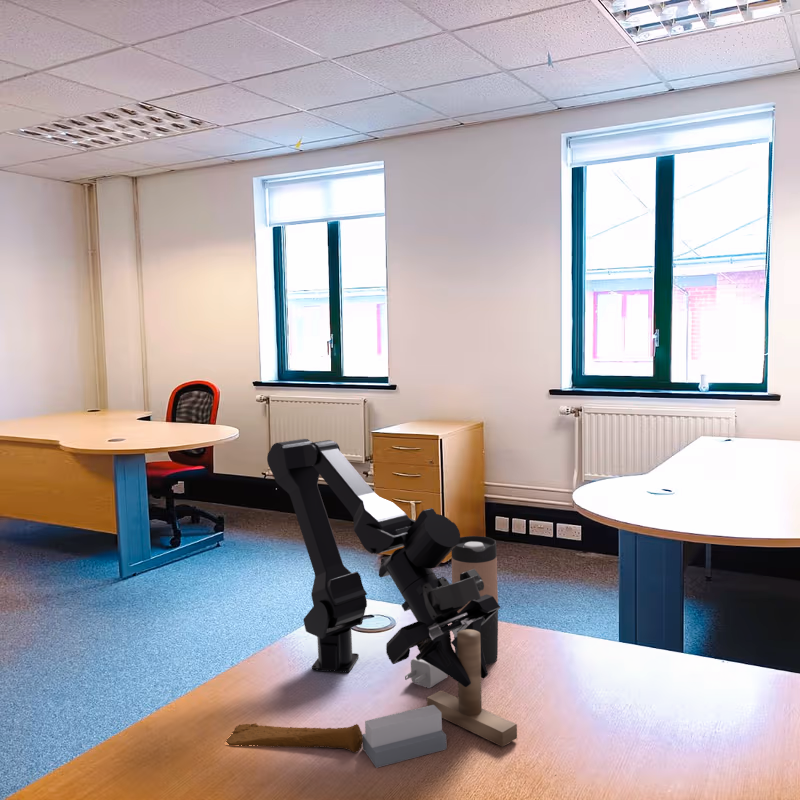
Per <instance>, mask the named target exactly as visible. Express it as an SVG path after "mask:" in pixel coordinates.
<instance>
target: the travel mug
mask: <svg viewBox="0 0 800 800" xmlns="http://www.w3.org/2000/svg"><path fill="white" fill-rule="evenodd" d="M497 560H498V559H497V541H496V540H495V539H493V538H492V537H487V536H482V535H481V536H480V535H469V536H466V535H465V536H460V541H459V543H458V544H457V545H456V546H455V548H454V549H453V550H452V551H451V584H452V583H455V582H458V581H460V574H461V573H464V572H466V571H469V570H472V569H475V570H476V571H477V573H478V574H479V575H480V577H481V578H482V581H483V583H484V589H483V590H481V591H479V593H480V596H483V595H486V594H487V595H490V596H493V597H494V598H495V600H496V601H497V603H498V604H499V597H498V596H499V593H498V589H499V588H498V562H497ZM469 602H470V601H469ZM469 602H468V603H469ZM466 605H467V604H466ZM466 605H465V606H466ZM465 606H464V607H465ZM464 607H463V608H464ZM463 608H462V609H463ZM462 609H460V610H458V613H459V612H460V611H461V610H462ZM498 636H499V610H498V611H497V612H495V613H494V614H493V615H492V616H491V617H490V618H489V619H488V620H487V621H486V622H485V623H484V624H483V625H481V629H480V641H481V647H482V651H483V655H484V659H485V663H486V666H489V665H493V663H496V662H497V660H498V654H499V653H498V648H499V646H498V645H499V644H498V642H499V637H498ZM453 637H454V638H453V640H454V639H455V638H456V637H455V636H454V635H453ZM454 652H455V653H456V655H457V657H458V653H457V649H456V648H455V647H454Z"/></svg>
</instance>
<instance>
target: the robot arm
mask: <svg viewBox="0 0 800 800" xmlns="http://www.w3.org/2000/svg"><path fill="white" fill-rule="evenodd" d="M266 459H267V465H268V467H269V469H270V471H271V473H272V476H273V479H274V481H275V482H276V484H277V485H278V486H279V487H281V488H282V489H283V490H284V491H285V492H287V494H288V495H289V497H290V500H291V503H292V506H293V510H294V513H295V516H296V519H297V522H298V525H299V528H300V532H301V535H302V538H303V541H304V545H305V548H306V551H307V554H308V556H309V560H310V564H311V568H312V569H313V573H314V580H313V584H312V589H311V594H310V595H311V596H310V597H311V600H312V604H313V606H312V608H311V609H310V610H309V612H308V613H307V614H306V615H305V616H304V617H303V624H304V629H305V632H306V633H309V634H310V635H313V636H315V637H317V655H318V658H316V660H315V661H314V663H313V664H312V666H311V670H312V671H320V672H321V671H322V672H335V673H350V672H351V669H352V668H354V665H355V663H356V662H357V660H358V659H359V657H360V656H359V653H355V652H354V653H353V640H352V639H353V638H352V636H353V635H352V628H354V627H356V626H361V625H363V620H364V618H365V613H366V608H367V606H368V601H367V597H366V596H367V595H368V593H367V591H366V589H365V588H364V585H363V582H362V581H363V580H362V577H361V575H360V573H359V572H358V571H353V572H351V571H350V570H349V569H348V568H347V567H346V566H345V565H344V563H343V559H342V557H341V553H340V550H339V548H338V544H337V542H336V538H335V535H334V531H333V529H332V526H331V523H330V520H329V517H328V513H327V510H326V507H325V505H324V502H323V499H322V496H321V495H322V494H321V492H320V490H319V486H318V484H319V480H320V476H321V478H322V479H323V481H325V483H326V484H327V485H328V487H329V488H330V490H331V491H333V493H334V494H335V496H336V497H337V498H338V500H340V502H341V503H342V504H343V505H344V507H345V509H347V511H348V512H349V514H350V515H351V517H352V518H353V519H352V520H353V531H354V533H355V534H356V536H357V538H358V539H359V541H360V543H361V544H362V546H363V547H364V550H366V551H367V552H368V553H370V554H374V555H375V554H376V555H377V554H382V553H385V552H389V551H393V550H394V551H393V552H392V553H391V554H390V556H386V557H383V558H381V559H380V566H379V570H378V576H379V578H384V577H388V576H390V577H391V579H392V581H393V583H394V585H395V586H396V588H397V589H398V591H399V593H400V594H401V596H402V598H403V600H404V602H403V603H402V604H401V608H402V609H403V611H404V612H407V611H409V610H410V611H411V613H412V615H413V616H414V619H415V620H416V621H415V622H412V623H411V624H410V623H409V624H408V625H405V626H402V627H400V629H398V631H397V632H396V633H395V634H394V635H393V636H392V637H391V638H390V639H389V640H388V642H386V645H385V647H386V648H385V649H386V651H385V653H386V655H387V656H388V659H389V661H390V662H391V664H392V665H396V664H397V663H400V662H403V661H405V660H406V659H408V658H409V657H410V653H411V650H410V649H411V648H414V647H417V650H418V652H419V653H418V654H417V655H416V656H415V658H416V659H417V660H420V659H422V660H424V661H426V662H427V663H429V664H431V665H433V666H434V667H436V668H438V669H439V670H441V671H443V672H444V673H446V674H447V675H448V676H447V677H450V678H451V679H453V680H454V681H456V682H457V683H458V682H459V683H460V684H461V685H463V686H464V687H468V686H469V685H470V684H471V681H470V679H469V677H468V675H467V673H466V671H465V669H464V667H463V666H462V664H461V662H460V660H459V659H458V657H457V655H456V653H455V648H456V649H457V633H458V632H459V631H461V630H466V629H471V630H476V631H478V632H480V629H481V625H483V624H484V623H485V622H486V621H487V620H488V619H489V618H490V617H491V616H492V615H493V614H494V613H495V612H497V611H498V612H499V609H501V606H500V605H499V602H498V603H497V601H496V600H495V598H494V597H493V596H490V595H487V594H486V595H483V596H480V593H479V591H481V590H483V589H484V583H483V581H482V578H481V577H480V575H479V574H478V573H477V571H476V570H475V569H472V570H469V571H466V572H464V573H461V574H460V581H458V582H455V583H452V582H451V583H450V582H449V581H448V579H447V578H446V577H444V576H442V577H439V578H438V577H437V575H436V574H435V572H434V570H433V569H435V568H437V567H438V566H439V565H440V564H441V563H442V562H443V560H445V559H446V558H447V556H449V554H450V553H452V550H453V549H454V548H455V546H456V545H457V544H458V543H459V541H460V537H461V533H460V530H459V528H458V526H457V524H456V523H455V522H454V521H452V520H451V519H450V518H448V517H446V516H444V515H442V514H438V513H437V512H436V511H435V509H434V508H432V507H431V508H427V509H423V510H422V511H421V512H420V513H419V514H418V516H417V517H416V520H414V519H413V518H410V517H409V516H408V514H407V513H406V512H405V511H403V510H402V509H401V508H400V507H399V506H398V505H397V504H395V503H394V502H392V501H391V500H388V499H385V498H383V497H381V496H379V495H378V494H377V493H376V492H375V491H374V489H372V487H371V486H370V485H369V484H368V483H367V482H366V481H365V479H364V478H363V477H362V475H360V473H359V471H357V469H355V467H354V466H353V465H352V464H351V462H350V461H349V460H348V458H346V456H345V455H344V454H343V453H342V452H341V449H340V446H339V444H338V443H337V442H336V441H334V440H331V439H327V440H326V439H325V440H322V441H321V440H319V441H315V442H313V441H311V440H310V439H308V438H299V439H293V440H288V441H287V440H286V441H281V442H275V443H274V444H272V445H271V447H270V450H269V451H268V452H267V457H266ZM469 601H470V602H469ZM468 602H469V603H468ZM466 604H467V605H466ZM465 605H466V606H465ZM464 606H465V607H464ZM463 607H464V608H463ZM462 608H463V609H462ZM460 609H462V610H461V611H460V612H459V613H458V610H460ZM451 632H452V634H453V637H454V636H455V637H456V638H455V639H454V638H453V640H452V637H451V636H452V635H451ZM480 644H481V641H480ZM453 647H454V649H453ZM488 675H489V672H488V668H487V665H486V663H485V659H484V655H483V651H482V647H481V679H483V680H484V679H486V678H487V677H488Z"/></svg>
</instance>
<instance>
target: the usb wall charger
mask: <svg viewBox="0 0 800 800" xmlns="http://www.w3.org/2000/svg"><path fill="white" fill-rule="evenodd" d="M448 677H449V676H448V675H447V674H446V673H444V672H443V671H441V670H439V669H438V668H436V667H434V666H433V665H431V664H429V663H427V662H426V661H424V660H422V659H420V660H417V659H416V657H415V658H412V659H411V660H410V672H409V673H407V674H406V675H404V680H405V681H407V680H409V679H410V680H411V682H412V683H413V684H415V685H418V686H421V687H424V688H426V687H427V689H431V688H432V687H434V686H436V685H437V684H439V683H440V682H442V681H444V680H445V679H446V678H448Z"/></svg>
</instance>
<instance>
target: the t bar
mask: <svg viewBox="0 0 800 800" xmlns="http://www.w3.org/2000/svg"><path fill="white" fill-rule="evenodd" d="M457 653H458V659H459V660H460V662H461V664H462V666H463V667H464V669H465V671H466V673H467V675H468V677H469V679H470V681H471V684H470V685H469V686H468V687H464V686H463V685H461V684H460V683H459V682H457V685H458V686H457V689H458V691H457V693H458V694H457V695H458V696H455V695H453V694H451V693H449V692H446V691H444V690H438V691H436V692H434V693H432V694H431V695H429V696H427V697H426V706H430V705H435V706H436V707H437V708H438V709H439V710H440V711H441V714H442V719H444V720H445V721H448V722H450V723H452V724H454V725H457V726H459V727H461V728H462V729H465V730H467V731H470V732H471V733H473V734H475V735H478V736H480V737H481V738H483V739H486V740H487V741H490V742H492V743H493V744H496V745H498V746H500V747H502V748H504V747H505V746H506V745H508V744H510V743H511V742H513V741H515V740H516V739H518V724H517V723H516V722H513V721H511V720H509V719H506V718H504V717H502V716H500V715H497V714H495V713H494V712H491V711H490V710H489V711H488V710H486V709H485V708H482V707H483V706H482V678H481V644H480V632H478V631H476V630H471V629H466V630H461V631H459V632H458V633H457Z"/></svg>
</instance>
